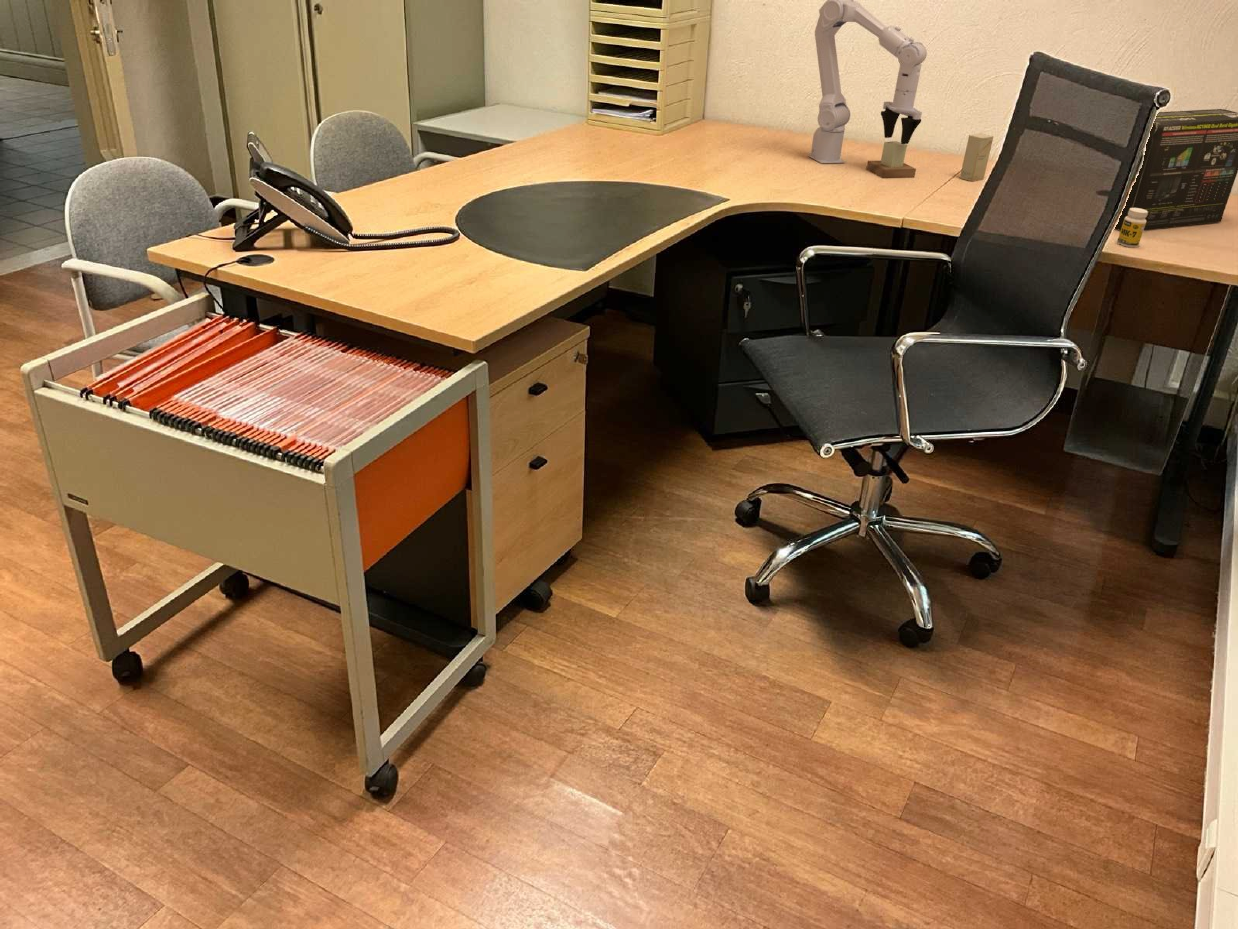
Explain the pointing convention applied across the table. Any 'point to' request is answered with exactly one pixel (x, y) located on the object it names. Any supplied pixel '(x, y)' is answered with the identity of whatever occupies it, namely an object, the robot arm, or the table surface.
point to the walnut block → (890, 170)
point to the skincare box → (976, 157)
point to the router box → (1186, 169)
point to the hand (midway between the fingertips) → (896, 140)
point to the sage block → (893, 154)
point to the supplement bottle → (1132, 227)
